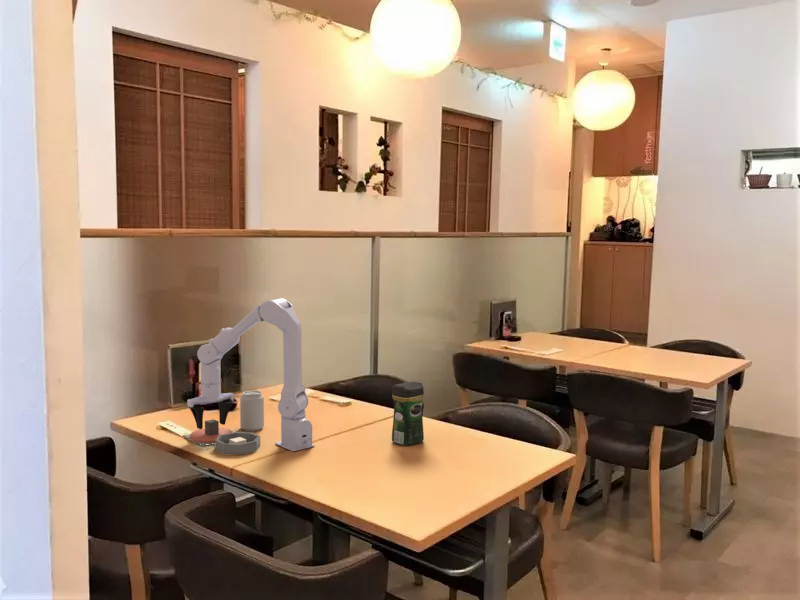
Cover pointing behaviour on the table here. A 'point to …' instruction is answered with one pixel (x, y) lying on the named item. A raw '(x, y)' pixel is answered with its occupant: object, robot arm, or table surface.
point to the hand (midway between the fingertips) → (211, 426)
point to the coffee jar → (407, 413)
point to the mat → (196, 442)
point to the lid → (209, 432)
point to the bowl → (237, 443)
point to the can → (252, 410)
